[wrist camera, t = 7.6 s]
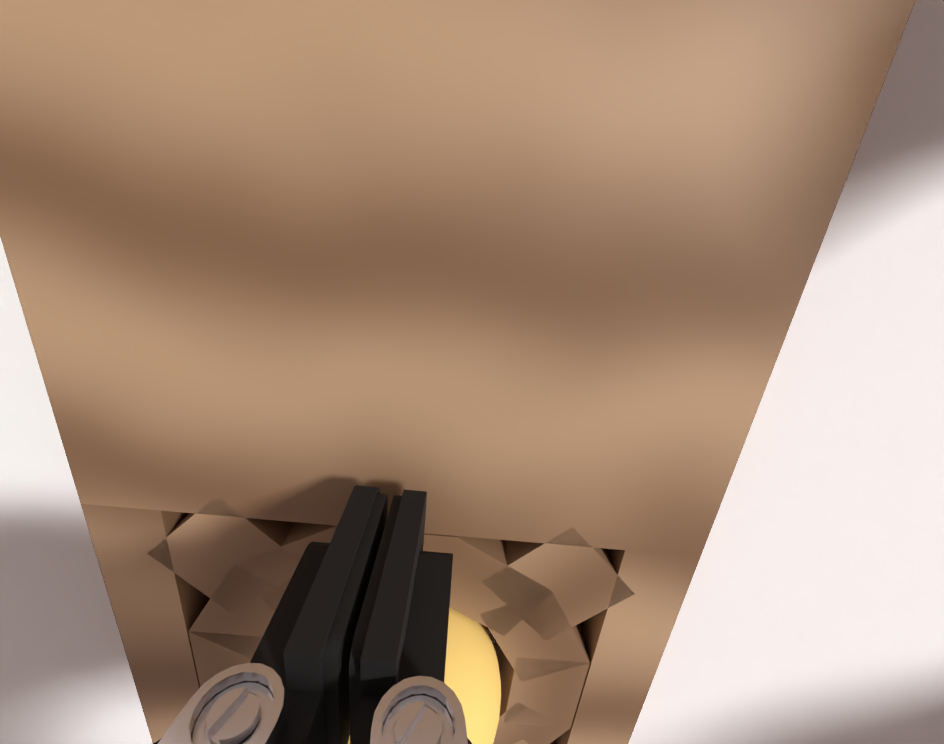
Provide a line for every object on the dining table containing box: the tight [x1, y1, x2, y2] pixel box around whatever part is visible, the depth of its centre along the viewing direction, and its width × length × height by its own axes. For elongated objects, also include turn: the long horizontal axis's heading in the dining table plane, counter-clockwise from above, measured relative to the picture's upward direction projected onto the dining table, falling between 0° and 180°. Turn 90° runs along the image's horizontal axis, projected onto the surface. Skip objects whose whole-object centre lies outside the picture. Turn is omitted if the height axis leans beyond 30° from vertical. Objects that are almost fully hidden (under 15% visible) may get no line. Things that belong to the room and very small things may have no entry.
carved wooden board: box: [0, 0, 915, 744], centre depth 12 cm, size 30×16×2 cm, turn 174°
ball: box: [348, 608, 501, 744], centre depth 13 cm, size 6×6×6 cm
